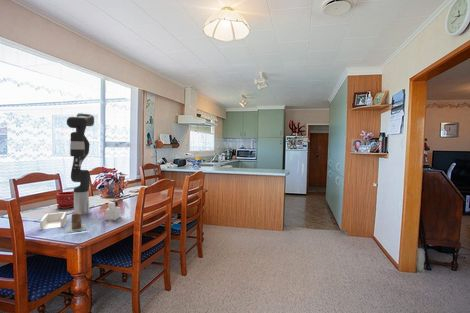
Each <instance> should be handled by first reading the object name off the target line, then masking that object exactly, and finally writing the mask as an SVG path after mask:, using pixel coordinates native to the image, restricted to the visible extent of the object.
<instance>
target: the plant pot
mask: <svg viewBox="0 0 470 313" xmlns="http://www.w3.org/2000/svg"><path fill="white" fill-rule="evenodd" d="M56 203H57V205H56V207H57V208H58V209H60V208H66V209H71V208H74V191H61V192H57V193H56ZM70 207H71V208H70Z"/></svg>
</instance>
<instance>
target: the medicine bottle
mask: <svg viewBox="0 0 470 313" xmlns="http://www.w3.org/2000/svg"><path fill="white" fill-rule="evenodd" d="M118 205H119V202H118V201H116V200H111V201H108V202H107V208H106V209H105V210H104V213H105V215H104V218H105V219H104V220H106V221H107V220H108V221H115V220H116V221H117V220H118V219H120V218H121V207H119V206H118Z"/></svg>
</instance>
